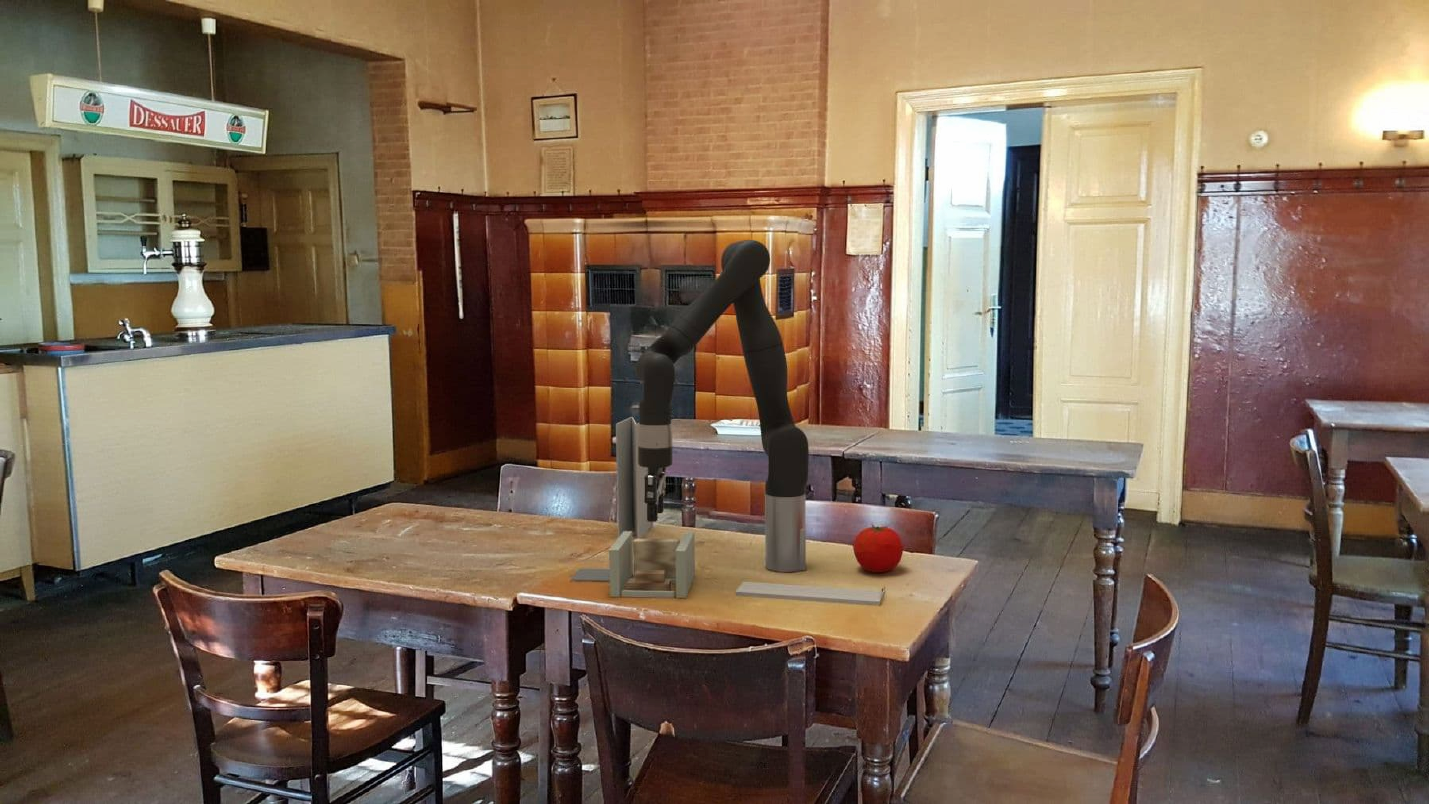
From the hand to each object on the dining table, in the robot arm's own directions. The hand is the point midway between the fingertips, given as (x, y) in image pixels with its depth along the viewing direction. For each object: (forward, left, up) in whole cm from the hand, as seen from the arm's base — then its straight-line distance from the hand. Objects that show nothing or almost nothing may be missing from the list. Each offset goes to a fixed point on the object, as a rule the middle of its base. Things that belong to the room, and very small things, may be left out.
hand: (655, 517), depth 228 cm
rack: (0, +5, -14) cm, 15 cm away
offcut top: (0, +10, -12) cm, 16 cm away
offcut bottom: (0, +11, -15) cm, 18 cm away
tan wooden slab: (0, 0, -14) cm, 14 cm away
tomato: (-49, -11, -14) cm, 52 cm away
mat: (+14, -2, -14) cm, 20 cm away
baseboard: (-34, +8, -15) cm, 38 cm away
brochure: (+12, -42, -14) cm, 46 cm away
